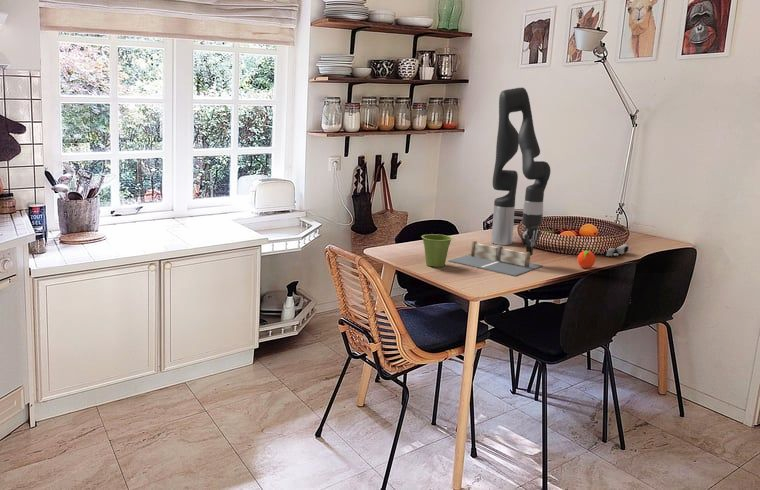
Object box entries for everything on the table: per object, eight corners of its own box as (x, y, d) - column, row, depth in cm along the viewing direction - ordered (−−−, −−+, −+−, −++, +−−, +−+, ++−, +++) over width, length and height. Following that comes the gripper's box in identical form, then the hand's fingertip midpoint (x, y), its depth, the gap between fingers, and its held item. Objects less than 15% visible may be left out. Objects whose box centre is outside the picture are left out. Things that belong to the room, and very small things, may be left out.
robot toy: (617, 262, 281) (631, 254, 292) (618, 251, 280) (632, 244, 291) (590, 256, 289) (604, 249, 300) (590, 246, 288) (605, 239, 299)
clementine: (591, 271, 260) (593, 253, 259) (573, 268, 263) (575, 251, 262) (596, 267, 267) (598, 250, 265) (578, 264, 270) (580, 247, 269)
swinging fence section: (495, 260, 268) (496, 246, 267) (498, 259, 270) (499, 246, 268) (527, 267, 259) (528, 253, 258) (530, 266, 261) (531, 252, 259)
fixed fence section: (470, 256, 276) (471, 241, 274) (472, 255, 277) (473, 241, 276) (494, 261, 268) (495, 246, 267) (497, 260, 270) (498, 245, 269)
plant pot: (456, 266, 261) (458, 237, 258) (437, 270, 252) (438, 241, 250) (433, 260, 269) (435, 232, 266) (413, 264, 260) (415, 236, 258)
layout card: (477, 252, 284) (477, 251, 284) (542, 266, 265) (542, 265, 265) (448, 261, 267) (448, 260, 267) (515, 276, 249) (515, 275, 248)
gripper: (532, 209, 269) (528, 251, 273) (516, 212, 259) (512, 256, 263) (549, 211, 265) (545, 254, 268) (533, 215, 255) (529, 259, 258)
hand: (529, 255), depth 266 cm, fingers closed
